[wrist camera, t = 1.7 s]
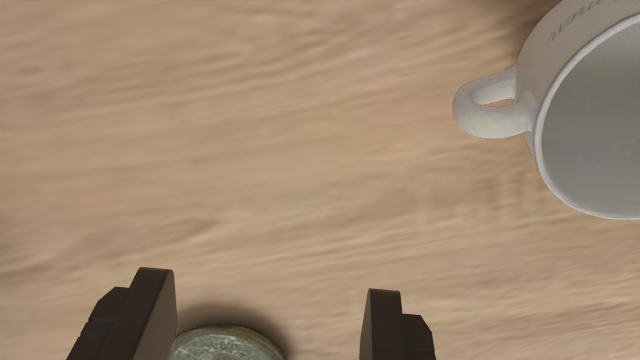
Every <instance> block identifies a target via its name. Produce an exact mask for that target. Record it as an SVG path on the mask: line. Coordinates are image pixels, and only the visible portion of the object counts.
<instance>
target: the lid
mask: <svg viewBox="0 0 640 360" xmlns="http://www.w3.org/2000/svg"><path fill="white" fill-rule="evenodd" d="M167 360H287V358H286V357H285V356H284V354H283V353H282V352H281V350H280V349H279V347H278V346H277V345H276V344H274V343H273V342H272V341H271V340H270V339H269V338H268V337H266V336H264V335H263V334H262V333H261V332H259V331H257V330H254V329H252V328H249V327H246V326H242V325H233V324H210V325H204V326H200V327H197V328H194V329H190V330H188V331H186V332H183V333H181V334H179V335H178V336H177V337H176V338H174V341H173V344H172V347H171V350H170V353H169V356H168V358H167Z"/></svg>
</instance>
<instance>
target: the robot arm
mask: <svg viewBox="0 0 640 360" xmlns="http://www.w3.org/2000/svg"><path fill="white" fill-rule="evenodd" d="M176 325H177V310H176V296H175V282H174V273H173V271H172V270H169V269H158V268H147V267H140V268H139V269H138V271H137V273H136V275H135V277H134V279H133V281H132V283H131V285H130V287H129V288H124V287H114V288H113V289H112V290H110V291H109V292H108V293H107V294H106V295H105V296H103V297H102V298H101V299H100V300H99V301H98V302H97V304H96V306H95V307H94V309H93V311H92V313H91V315H90V317H89V319H88V322H86V324H85V326H84V328H83V330H82V331H81V335H80V337H78V339H77V341H76V343H75V344H74V346H73V348H72V350H71V352H70V354H69V355H68V357H67V359H66V360H167V358H168V356H169V353H170V350H171V347H172V344H173V341H174V337H175V332H176ZM434 353H435V350H434V344H433V337H432V332H431V331H430V329H429V328H428V326H427V324H426V323H425V321H424V320H423V318H422V317H421V315H413V314H402V305H401V296H400V292H399V291H393V290H382V289H371V288H369V290H368V294H367V300H366V306H365V313H364V319H363V325H362V332H361V339H360V354H359V360H436V356H435V354H434Z"/></svg>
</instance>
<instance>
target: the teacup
mask: <svg viewBox="0 0 640 360" xmlns="http://www.w3.org/2000/svg"><path fill="white" fill-rule="evenodd" d="M507 98H511V99H513V104H514V105H511V106H506V107H490V106H484V104H487V103H490V102H494V101H498V100H502V99H507ZM452 106H453V118H454V120H455V122H456V123H457V125H458V126H459V127H460V128H461V129H463V130H464V131H466V132H468V133H470V134H472V135H475V136H479V137H484V138H506V137H510V136H514V135H517V134H520V133H523V135H524V137H525V140H526V142H527V144H528V146H529V148H530V150H531V152H532V154H533V156H534V158H535V162H536V165H537V168H538V171H539V174H540V176H541V178H542V180H543V181H544V183H545V185H546V186H547V187H548V188H549V189H550V190H551V192H552V193H553V194H554V195H555V196H556V197H557V198H559V199H560V200H561V201H562V202H564V203H565V204H567V205H568V206H570V207H572V208H574V209H576V210H578V211H580V212H583V213H586V214H590V215H594V216H597V217H601V218H605V219H616V220H630V219H640V0H562V1H561V2H560V3H559V4H557V5H556V6H555V7H554V8H553V9H552V10H550V11H549V12H548V13H547V14H546V15H545V16H544V17H543V18H542V19H541V20H540V21H539V23H538V24H537V25H536V27H535V28H534V29H533V30H532V32H531V33H530V35H529V36H528V38H527V40H526V42H525V43H524V45H523V47H522V50H521V52H520V54H519V56H518V60H517V63H516V65H514V66H513V67H508V68H506V69H504V70H503V71H502V72H500V73H496V74H492V75H489V76H485V77H482V78H479V79H476V80H473V81H470V82H468V83H466V84H464V85H463V86H462V87H460V88H459V89H458V91H457V92H456V94H455V97H454V99H453V105H452Z"/></svg>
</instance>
